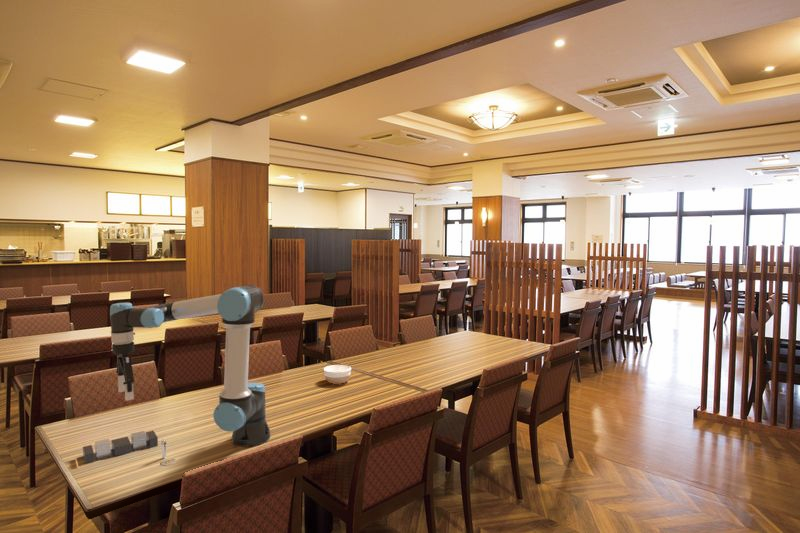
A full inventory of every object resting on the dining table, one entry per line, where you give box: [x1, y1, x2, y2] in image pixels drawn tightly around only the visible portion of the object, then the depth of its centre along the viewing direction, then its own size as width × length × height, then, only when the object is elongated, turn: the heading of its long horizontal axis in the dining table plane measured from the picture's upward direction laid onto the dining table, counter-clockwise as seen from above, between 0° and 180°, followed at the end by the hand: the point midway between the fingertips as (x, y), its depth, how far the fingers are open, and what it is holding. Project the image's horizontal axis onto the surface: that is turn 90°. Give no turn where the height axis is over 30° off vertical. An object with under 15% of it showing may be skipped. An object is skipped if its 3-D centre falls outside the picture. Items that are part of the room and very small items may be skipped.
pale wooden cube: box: [94, 438, 112, 459], centre depth 176 cm, size 4×4×5 cm
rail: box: [82, 430, 159, 465], centre depth 180 cm, size 8×24×4 cm, turn 129°
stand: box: [159, 439, 176, 466], centre depth 173 cm, size 8×5×8 cm
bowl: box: [323, 364, 352, 385], centre depth 269 cm, size 16×16×8 cm
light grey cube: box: [130, 430, 146, 450], centre depth 183 cm, size 4×4×5 cm
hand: (126, 395), depth 183 cm, fingers open, 13 cm apart
